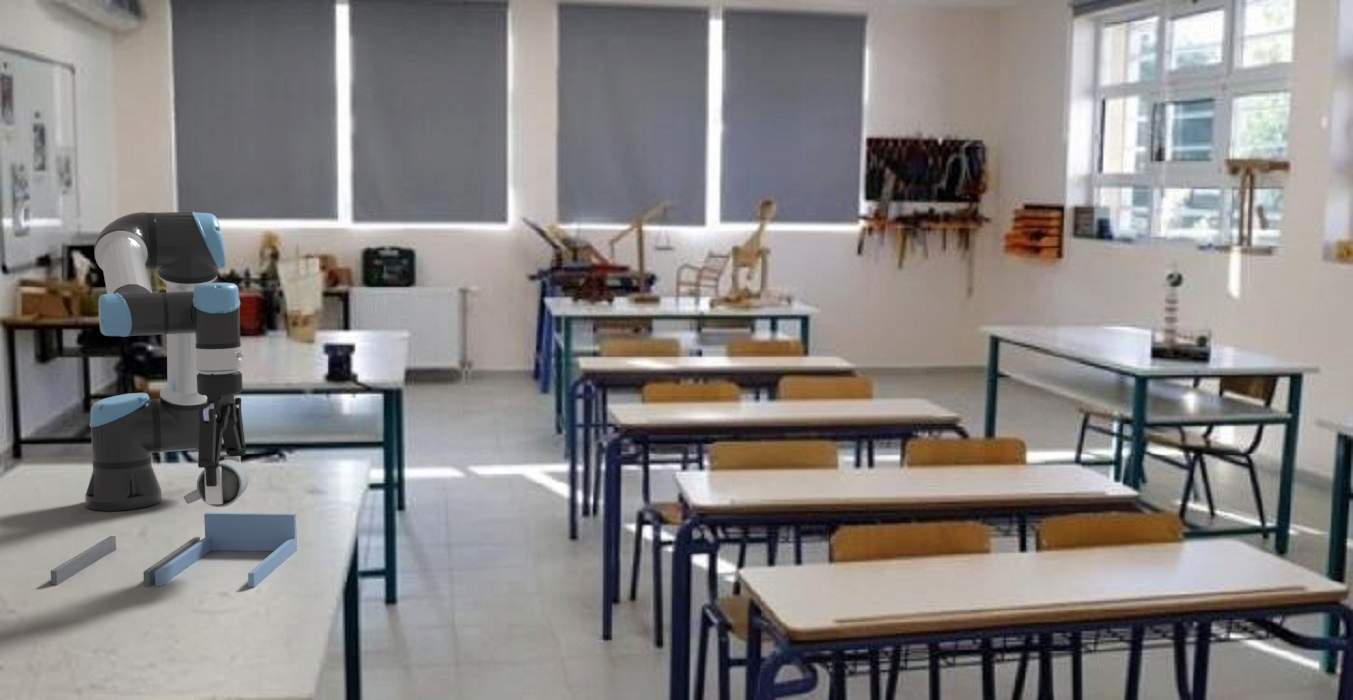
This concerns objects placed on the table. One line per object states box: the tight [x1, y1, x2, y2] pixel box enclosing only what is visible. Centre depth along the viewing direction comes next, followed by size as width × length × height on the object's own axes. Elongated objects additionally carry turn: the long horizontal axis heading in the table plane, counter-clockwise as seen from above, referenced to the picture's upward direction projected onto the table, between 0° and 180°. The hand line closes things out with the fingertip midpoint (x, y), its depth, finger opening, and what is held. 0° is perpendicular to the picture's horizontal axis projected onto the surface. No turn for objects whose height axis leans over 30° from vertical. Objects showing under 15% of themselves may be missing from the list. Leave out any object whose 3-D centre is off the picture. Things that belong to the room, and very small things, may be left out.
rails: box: [50, 535, 201, 587], centre depth 226 cm, size 22×17×2 cm
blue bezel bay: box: [155, 512, 298, 588], centre depth 226 cm, size 23×17×7 cm
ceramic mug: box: [183, 459, 250, 508], centre depth 223 cm, size 11×8×8 cm
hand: (224, 497), depth 223 cm, fingers closed on ceramic mug, 8 cm apart
